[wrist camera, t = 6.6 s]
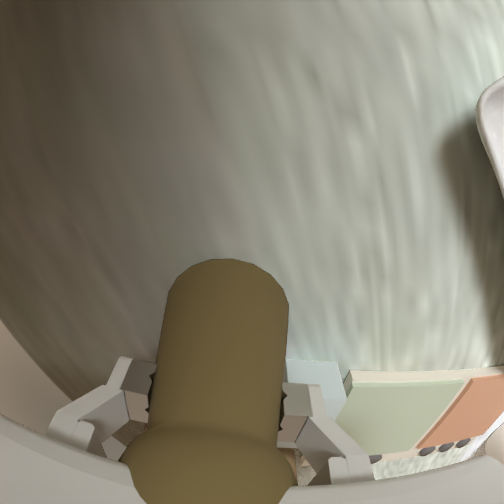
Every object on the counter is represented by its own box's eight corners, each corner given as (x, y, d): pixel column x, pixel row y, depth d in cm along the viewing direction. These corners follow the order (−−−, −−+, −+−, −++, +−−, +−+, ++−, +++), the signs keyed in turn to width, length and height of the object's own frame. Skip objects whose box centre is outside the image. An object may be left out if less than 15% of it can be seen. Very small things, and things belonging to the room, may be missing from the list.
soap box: (285, 356, 17) (289, 397, 14) (336, 360, 17) (347, 399, 14) (267, 409, 19) (268, 447, 16) (312, 412, 19) (317, 448, 16)
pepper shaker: (219, 231, 13) (150, 498, 3) (314, 311, 15) (365, 537, 5) (144, 313, 15) (61, 513, 5) (233, 374, 17) (220, 563, 7)
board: (349, 370, 17) (354, 385, 16) (527, 362, 18) (534, 370, 17) (300, 458, 21) (301, 470, 20) (467, 438, 22) (470, 446, 21)
